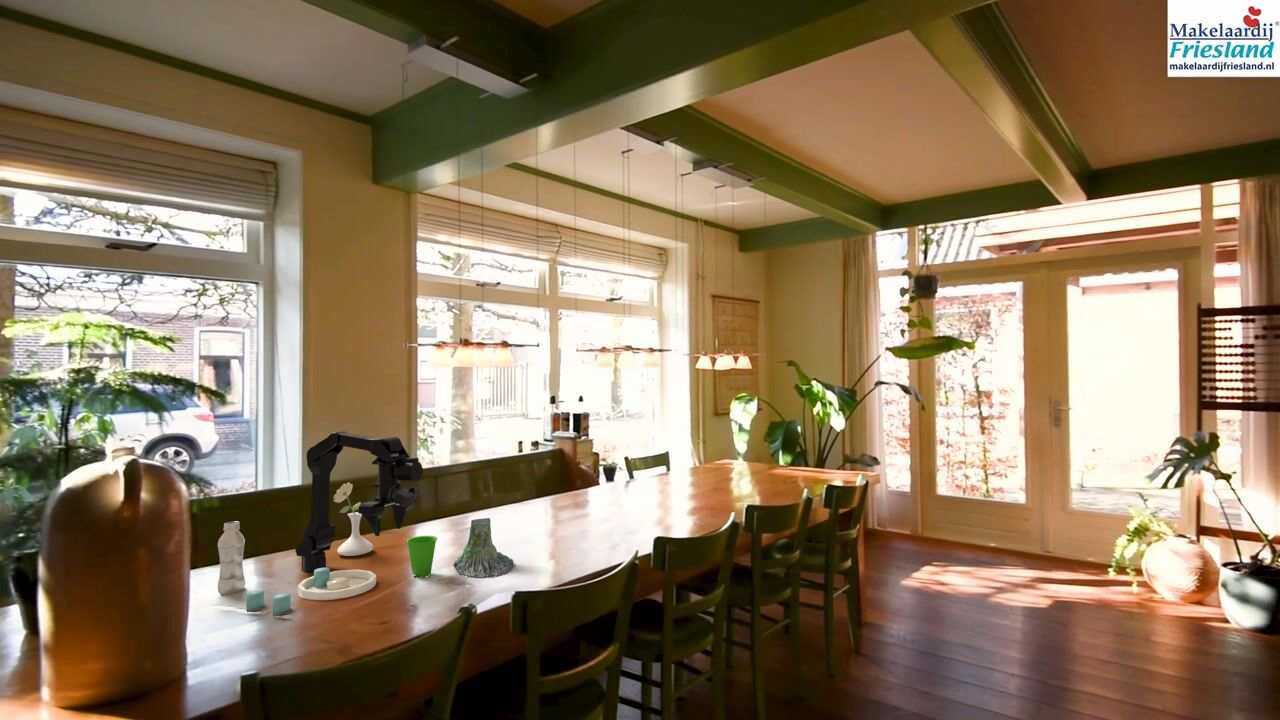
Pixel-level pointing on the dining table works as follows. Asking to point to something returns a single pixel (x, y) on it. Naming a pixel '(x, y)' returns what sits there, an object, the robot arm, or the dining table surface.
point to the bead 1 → (254, 600)
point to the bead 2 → (281, 604)
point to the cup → (421, 554)
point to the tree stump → (482, 554)
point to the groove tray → (353, 589)
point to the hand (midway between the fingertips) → (388, 532)
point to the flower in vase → (356, 541)
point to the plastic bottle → (231, 559)
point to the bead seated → (321, 577)
